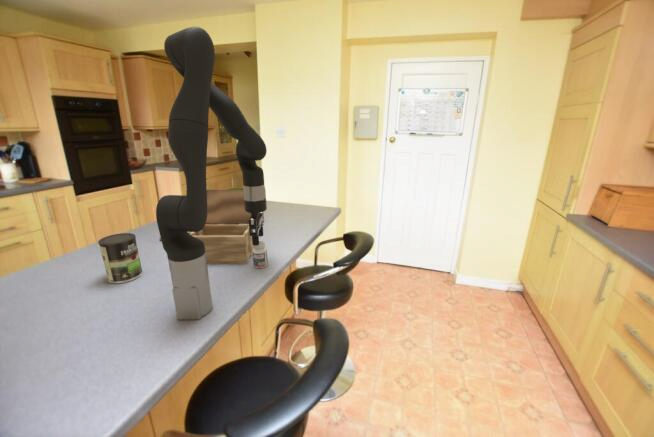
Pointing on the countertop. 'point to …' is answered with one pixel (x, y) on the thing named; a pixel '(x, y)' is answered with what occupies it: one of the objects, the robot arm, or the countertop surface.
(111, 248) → the coffee can
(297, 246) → the countertop surface
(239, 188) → the plant pot
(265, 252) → the pill bottle
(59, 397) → the countertop surface
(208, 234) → the wooden box
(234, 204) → the lid
